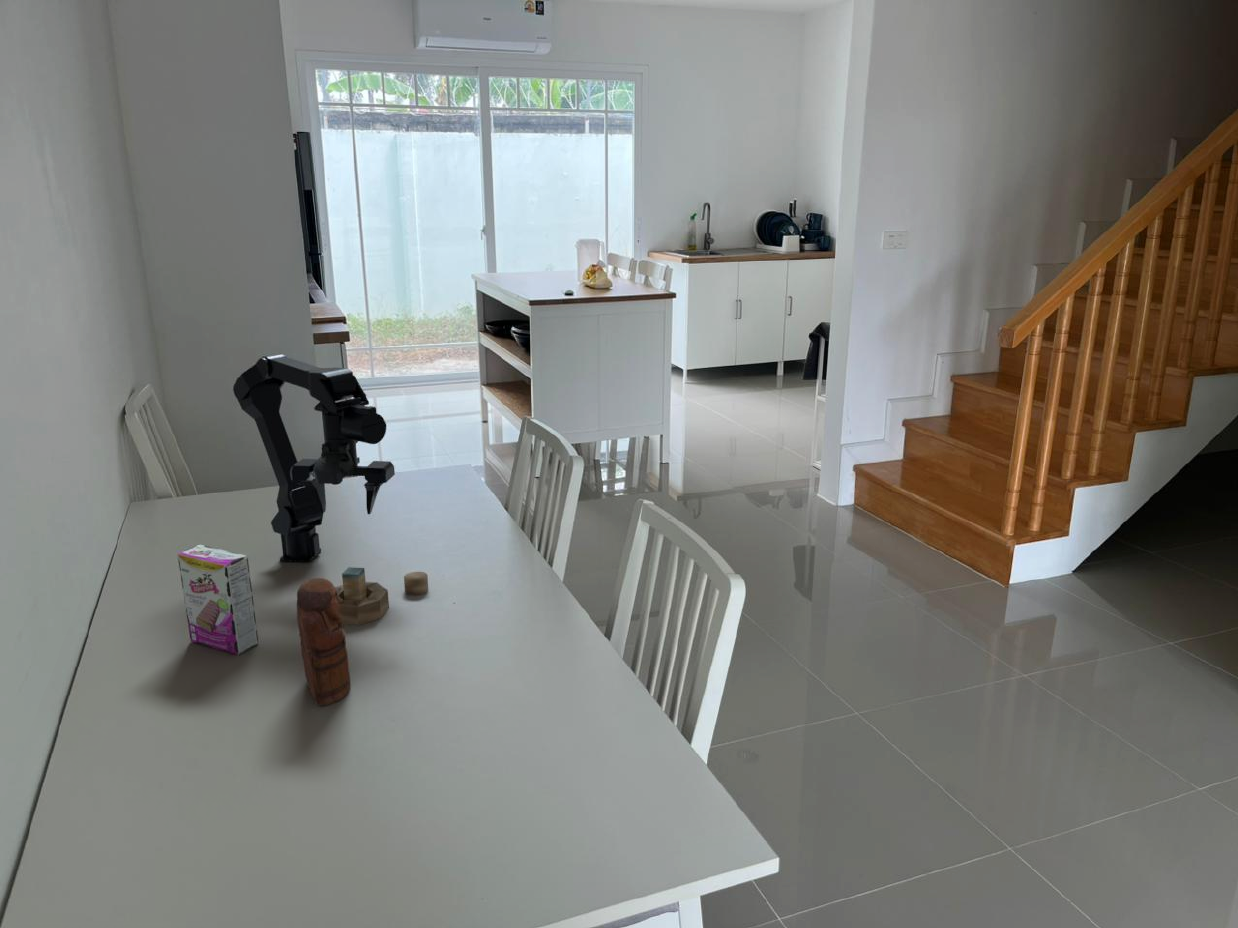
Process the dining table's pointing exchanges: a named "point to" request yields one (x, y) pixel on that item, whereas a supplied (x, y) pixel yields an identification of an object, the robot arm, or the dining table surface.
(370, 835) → the dining table surface
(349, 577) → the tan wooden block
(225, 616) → the candy bar box
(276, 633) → the dining table surface
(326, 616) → the wooden figurine
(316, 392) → the robot arm
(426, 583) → the loose bead
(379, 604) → the wooden octagonal ring
